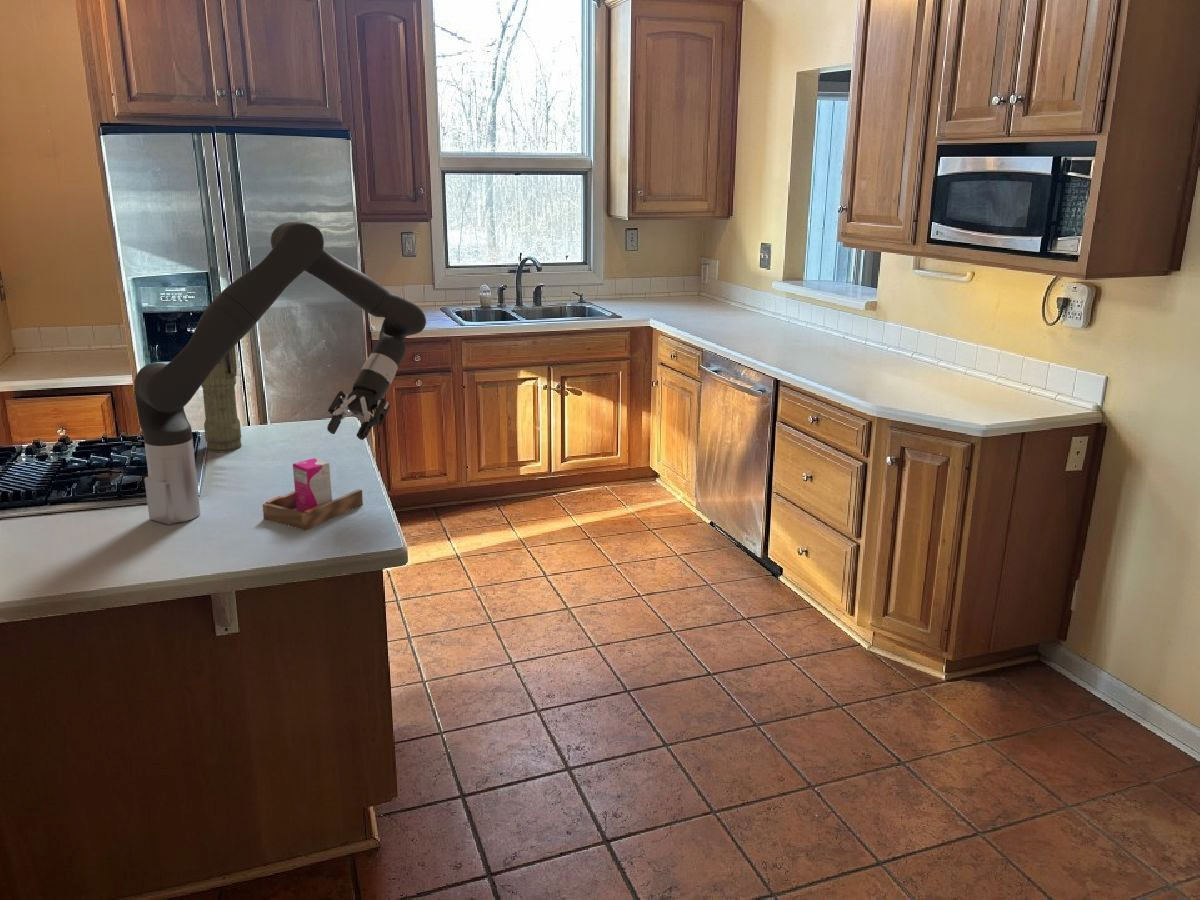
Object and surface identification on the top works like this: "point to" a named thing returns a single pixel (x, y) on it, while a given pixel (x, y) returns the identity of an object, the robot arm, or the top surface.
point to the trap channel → (284, 513)
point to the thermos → (222, 406)
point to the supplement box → (312, 483)
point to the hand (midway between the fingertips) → (345, 435)
